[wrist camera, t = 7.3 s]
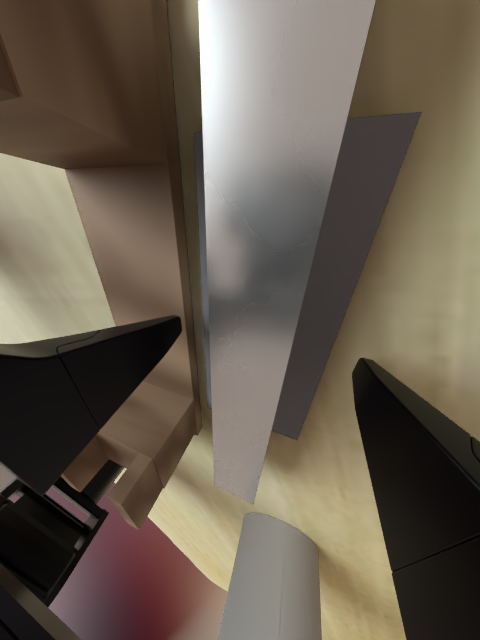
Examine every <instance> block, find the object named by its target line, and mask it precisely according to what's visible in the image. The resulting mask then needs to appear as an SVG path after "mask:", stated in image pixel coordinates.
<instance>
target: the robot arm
mask: <svg viewBox="0 0 480 640" xmlns="http://www.w3.org/2000/svg"><path fill="white" fill-rule="evenodd" d="M181 332H182V324H181V318H180V317H179V316H175V315H171V316H166V317H161V318H156V319H151V320H146V321H141V322H136V323H131V324H126V325H121V326H116V327H112V328H107V329H102V330H97V331H92V332H86V333H81V334H76V335H70V336H65V337H59V338H53V339H47V340H41V341H35V342H29V343H22V344H0V640H82V639H81V638H79V636H77V635H76V634H75V633H74V632H73V631H72V630H71V629H70V628H69V627H68V626H67V625H66V624H65V623H64V622H63V621H61V620H60V619H59V618H58V617H57V616H56V615H55V614H54V613H53V612H52V611H51V610H50V609H49V608H48V607H49V605H50V604H51V603H52V601H53V600H54V599H55V597H56V596H57V594H58V593H59V591H60V590H61V588H62V587H63V585H64V584H65V582H66V581H67V579H68V578H69V576H70V575H71V573H72V571H73V570H74V568H75V567H76V565H77V563H78V562H79V560H80V558H81V557H82V555H83V554H84V552H85V550H86V549H87V547H88V546H89V544H90V543H91V541H92V539H93V538H94V536H95V534H96V533H97V531H98V530H99V528H100V527H101V525H102V523H103V522H104V520H105V519H106V517H107V515H108V514H109V512H108V511H106V510H105V509H101V508H100V507H99V506H97V505H96V504H97V503H98V501H99V500H100V498H101V497H102V496H103V495H104V493H105V492H106V491H107V490H108V488H109V487H110V486H111V484H112V483H113V482H114V481H115V479H116V478H117V477H118V475H119V474H120V473H121V471H122V470H123V469H124V468H125V467H123V466H121V465H119V464H117V463H116V462H114V461H112V460H110V459H109V460H108V461H107V462H106V463H105V464H104V465H103V467H102V468H101V469H100V470H99V471H98V472H97V474H96V475H95V476H94V477H93V478H92V479H91V481H90V482H89V483H88V484H87V485H86V486H85V488H84V489H83V490H82V491H81V492H79V491H77V490H76V489H74V488H72V487H71V486H70V485H69V484H68V483H67V482H66V481H65V480H64V479H63V478H62V477H61V475H62V474H63V472H64V471H65V470H66V469H67V468H68V467H69V466H70V464H71V463H72V462H73V461H74V460H75V459H76V458H77V456H78V455H79V454H80V453H81V452H82V451H83V449H84V448H85V447H86V446H87V445H88V444H89V443H90V441H91V440H92V439H93V438H94V437H95V436H96V434H97V433H98V432H99V431H100V429H102V427H103V426H104V425H105V424H106V423H107V422H108V421H109V419H110V418H111V417H112V416H113V415H114V414H115V412H116V411H117V410H118V409H119V408H120V407H121V406H122V404H123V403H124V402H125V401H126V400H127V399H128V398H129V396H130V395H131V394H132V393H133V392H134V391H135V389H136V388H137V387H138V386H139V385H140V384H141V383H142V381H143V380H144V379H145V378H146V377H147V376H148V375H149V373H150V372H151V371H152V370H153V369H154V368H155V367H156V365H157V364H158V363H159V362H160V361H161V360H162V358H163V357H164V356H165V355H166V354H167V352H168V351H169V350H170V348H171V347H172V345H173V344H174V343H175V341H176V340H177V338H178V337H179V336H180V334H181ZM352 382H353V392H354V403H355V410H356V415H357V420H358V424H359V429H360V433H361V438H362V442H363V447H364V451H365V456H366V460H367V464H368V469H369V473H370V478H371V482H372V487H373V491H374V496H375V500H376V505H377V509H378V513H379V518H380V522H381V527H382V531H383V536H384V540H385V545H386V549H387V554H388V558H389V563H390V567H391V570H392V577H393V581H394V586H395V590H396V595H397V599H398V604H399V608H400V613H401V617H402V622H403V626H404V630H405V635H406V639H407V640H480V442H479V441H478V440H477V439H475V438H474V437H470V434H469V433H467V432H466V431H465V430H463V429H462V428H461V427H459V426H458V425H457V424H456V423H454V422H453V421H452V420H450V419H449V418H448V417H446V416H445V415H444V414H442V413H441V412H440V411H438V410H437V409H436V408H435V407H433V406H432V405H431V404H429V403H428V402H427V401H425V400H424V399H423V398H421V397H420V396H419V395H417V394H416V393H415V392H414V391H412V390H411V389H410V388H408V387H407V386H406V385H404V384H403V383H402V382H400V381H399V380H398V379H396V378H395V377H394V376H393V375H391V374H390V373H389V372H387V371H386V370H385V369H383V368H382V367H381V366H379V365H378V364H377V363H375V362H374V361H373V360H371V359H366V358H360V359H359V360H358V362H357V364H356V366H355V368H354V370H353V373H352ZM50 487H51V488H52V489H54V490H55V491H56V492H58V493H59V494H60V495H62V496H63V497H64V498H65V499H67V500H68V501H70V502H71V503H72V504H73V505H75V506H76V507H77V508H79V509H80V510H81V511H83V512H84V513H85V514H87V515H88V516H89V518H88V519H87V520H86V522H85V523H84V522H83V521H81V520H80V519H79V518H77V517H76V516H75V515H73V514H72V513H71V512H69V511H68V510H67V509H65V508H64V507H63V506H61V505H60V504H59V503H57V502H56V501H55V500H54V499H52V498H51V497H50V496H48V495H46V492H47V491H48V490H49V488H50ZM15 495H17V496H19V497H20V499H19V500H18V501H16V502H15V503H13V502H12V501H11V500H10V499H11V498H13V497H14V496H15Z"/></svg>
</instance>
